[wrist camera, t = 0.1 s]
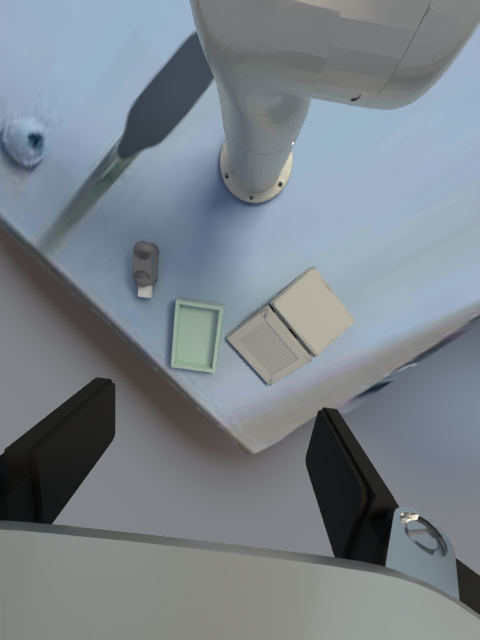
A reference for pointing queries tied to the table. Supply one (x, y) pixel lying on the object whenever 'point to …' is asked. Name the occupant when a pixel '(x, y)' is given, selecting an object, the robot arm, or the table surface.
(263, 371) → the gadget
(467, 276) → the table surface
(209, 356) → the tray
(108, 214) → the table surface
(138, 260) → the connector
